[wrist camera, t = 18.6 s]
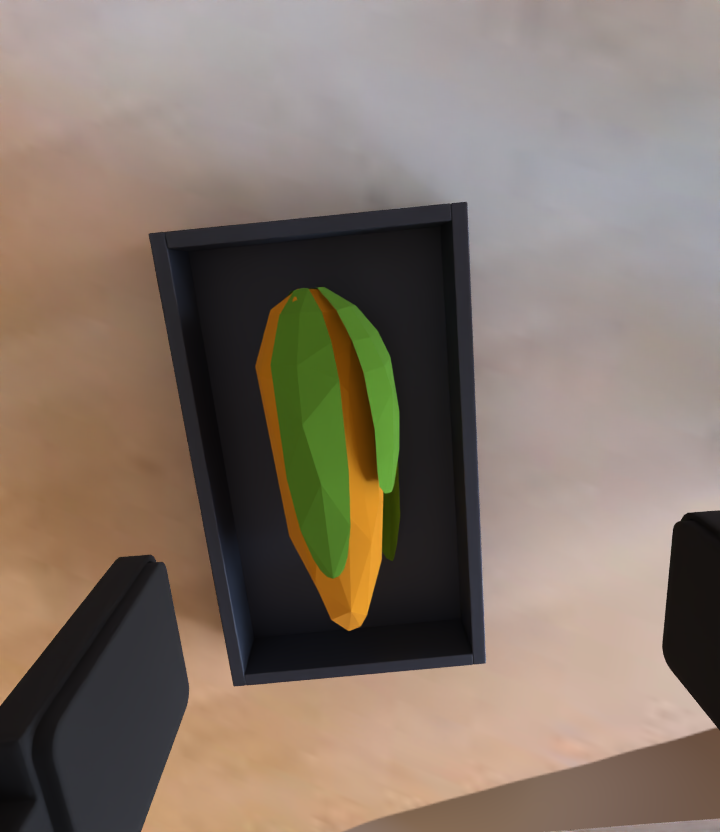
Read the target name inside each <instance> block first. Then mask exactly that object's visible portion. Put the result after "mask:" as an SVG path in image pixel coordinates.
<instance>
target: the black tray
mask: <svg viewBox="0 0 720 832" xmlns="http://www.w3.org/2000/svg"><path fill="white" fill-rule="evenodd" d="M149 239H150V244H151V249H152V255H153V260H154V265H155V271H156V276H157V281H158V286H159V292H160V297H161V302H162V308H163V313H164V318H165V324H166V329H167V334H168V340H169V345H170V350H171V356H172V361H173V366H174V372H175V377H176V382H177V388H178V393H179V398H180V404H181V409H182V414H183V420H184V425H185V430H186V435H187V441H188V446H189V451H190V457H191V462H192V467H193V473H194V478H195V483H196V489H197V494H198V499H199V505H200V510H201V515H202V521H203V526H204V531H205V537H206V542H207V547H208V553H209V558H210V563H211V569H212V574H213V579H214V585H215V590H216V595H217V600H218V606H219V611H220V616H221V622H222V627H223V632H224V638H225V643H226V648H227V654H228V659H229V664H230V670H231V675H232V680H233V685H234V686H244V685H256V684H267V683H278V682H289V681H300V680H311V679H322V678H332V677H343V676H354V675H365V674H376V673H387V672H398V671H409V670H419V669H430V668H441V667H452V666H463V665H473V664H484V663H486V653H485V628H484V603H483V579H482V554H481V529H480V504H479V479H478V455H477V430H476V405H475V380H474V355H473V331H472V306H471V281H470V256H469V232H468V207H467V202H459V203H452V204H440V205H430V206H420V207H410V208H400V209H390V210H380V211H369V212H359V213H349V214H339V215H329V216H319V217H309V218H299V219H289V220H279V221H269V222H259V223H249V224H239V225H229V226H219V227H209V228H199V229H189V230H179V231H169V232H159V233H150V234H149ZM316 287H325V288H327V289H328V290H330V291H332V292H334V293H335V294H337V295H339V296H340V297H342V298H344V299H345V300H347V301H349V302H350V303H352V304H354V305H356V306H357V308H358V309H359V310H360V311H361V312H362V313H363V314H364V316H365V317H366V318H367V319H368V320H369V321H370V323H371V324H372V325H373V326H374V327H375V328H376V329H377V331H378V333H379V335H380V337H381V339H382V341H383V343H384V345H385V347H386V349H387V351H388V353H389V355H390V358H391V364H392V370H393V376H394V382H395V388H396V394H397V400H398V406H399V455H398V473H399V497H400V522H399V531H398V540H397V547H396V552H395V556H394V559H393V561H391V560H389V559H387V558H386V557H385V555H384V554H383V552H382V560H381V564H380V568H379V571H378V575H377V579H376V583H375V587H374V590H373V594H372V598H371V602H370V605H369V609H368V613H367V616H366V618H365V620H364V621H363V623H362V625H361V626H360V627H358V628H355V629H353V630H351V631H348V630H346V629H345V628H343V627H342V626H340V625H339V624H337V623H335V622H334V621H332V620H331V618H330V616H329V613H328V611H327V609H326V607H325V604H324V602H323V600H322V598H321V596H320V593H319V591H318V589H317V587H316V586H315V584H314V582H313V580H312V578H311V576H310V574H309V572H308V571H307V569H306V567H305V565H304V563H303V561H302V559H301V557H300V555H299V554H298V552H297V550H296V548H295V546H294V544H293V542H292V540H291V538H290V537H289V532H288V527H287V522H286V517H285V512H284V507H283V502H282V497H281V492H280V487H279V482H278V477H277V472H276V467H275V462H274V457H273V452H272V447H271V442H270V437H269V432H268V427H267V422H266V417H265V412H264V407H263V402H262V397H261V392H260V387H259V383H258V378H257V373H256V368H255V366H256V362H257V358H258V354H259V351H260V347H261V343H262V339H263V336H264V332H265V328H266V324H267V321H268V317H269V313H270V310H271V309H272V308H274V307H275V306H276V305H278V304H279V303H280V302H281V301H283V300H284V299H285V298H286V297H287V295H288V294H289V293H290V292H291V291H294V290H297V289H300V288H309V289H310V288H316Z"/></svg>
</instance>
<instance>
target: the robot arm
mask: <svg viewBox="0 0 720 832" xmlns="http://www.w3.org/2000/svg"><path fill="white" fill-rule="evenodd" d="M662 649H663V655H664V658H665V660H666V663H667V665H668V666H669V668H670V669H671V671H672V672H673V673H674V674H675V675H676V677H677V678H678V679H679V680H680V682H681V683H682V684H683V685H684V687H685V688H686V689H687V690H688V692H689V693H690V694H691V695H692V697H693V698H694V699H695V700H696V702H697V703H698V704H699V705H700V707H701V708H702V709H703V710H704V711H705V713H706V714H707V715H708V716H709V718H710V719H711V720H712V721H713V723H714V724H715V725H716V726H717V728H718V729H719V730H720V511H706V512H693V513H687V514H685V515H684V516H683V518H682V519H681V521H679V522H677V523H676V524H675V525H674V528H673V535H672V546H671V557H670V568H669V579H668V589H667V600H666V611H665V622H664V633H663V644H662ZM188 697H189V683H188V677H187V672H186V667H185V662H184V657H183V651H182V646H181V641H180V636H179V631H178V625H177V620H176V615H175V610H174V605H173V600H172V594H171V589H170V584H169V579H168V574H167V569H166V566H165V564H164V563H163V562H156V560H155V558H154V556H152V555H141V556H129V557H119V558H118V559H116V560H115V562H114V563H113V564H112V565H111V567H110V568H109V569H108V571H107V572H106V573H105V574H104V576H103V577H102V578H101V579H100V581H99V582H98V583H97V584H96V586H95V587H94V588H93V590H92V591H91V592H90V593H89V595H88V596H87V597H86V598H85V600H84V601H83V602H82V603H81V605H80V606H79V607H78V608H77V610H76V611H75V612H74V614H73V615H72V616H71V617H70V619H69V620H68V621H67V622H66V624H65V625H64V626H63V627H62V629H61V630H60V631H59V633H58V634H57V635H56V636H55V638H54V639H53V640H52V641H51V643H50V644H49V645H48V646H47V648H46V649H45V650H44V651H43V653H42V654H41V655H40V657H39V658H38V659H37V660H36V662H35V663H34V664H33V665H32V667H31V668H30V669H29V670H28V672H27V673H26V674H25V676H24V677H23V678H22V679H21V681H20V682H19V683H18V684H17V686H16V687H15V688H14V689H13V691H12V692H11V693H10V695H9V696H8V697H7V698H6V700H5V701H4V702H3V703H2V705H1V706H0V832H141V830H142V827H143V824H144V822H145V819H146V816H147V814H148V811H149V808H150V805H151V803H152V800H153V797H154V794H155V792H156V789H157V786H158V783H159V781H160V778H161V775H162V772H163V770H164V767H165V764H166V762H167V759H168V756H169V753H170V751H171V748H172V745H173V742H174V740H175V737H176V734H177V731H178V729H179V726H180V723H181V720H182V718H183V715H184V712H185V709H186V707H187V703H188ZM553 832H720V819H709V820H696V821H682V822H668V823H654V824H642V825H629V826H616V827H604V828H592V829H579V830H566V831H553Z"/></svg>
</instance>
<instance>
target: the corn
mask: <svg viewBox="0 0 720 832" xmlns="http://www.w3.org/2000/svg"><path fill="white" fill-rule="evenodd" d="M255 368H256V373H257V378H258V383H259V387H260V392H261V397H262V402H263V407H264V412H265V417H266V422H267V427H268V432H269V437H270V442H271V447H272V452H273V457H274V462H275V467H276V472H277V477H278V482H279V487H280V492H281V497H282V502H283V507H284V512H285V517H286V522H287V527H288V532H289V537H290V538H291V540H292V542H293V544H294V546H295V548H296V550H297V552H298V554H299V555H300V557H301V559H302V561H303V563H304V565H305V567H306V569H307V571H308V572H309V574H310V576H311V578H312V580H313V582H314V584H315V586H316V587H317V589H318V591H319V593H320V596H321V598H322V600H323V602H324V604H325V607H326V609H327V611H328V613H329V616H330V618H331V620H332V621H334V622H335V623H337V624H339V625H340V626H342V627H343V628H345V629H346V630H348V631H351V630H353V629H355V628H358V627H360V626H361V625H362V623H363V621H364V620H365V618H366V616H367V613H368V609H369V605H370V602H371V598H372V594H373V590H374V587H375V583H376V579H377V575H378V571H379V568H380V564H381V560H382V552H383V554H384V555H385V557H386V558H387V559H389V560H391V561H393V559H394V556H395V552H396V547H397V540H398V531H399V522H400V497H399V473H398V455H399V406H398V400H397V394H396V388H395V382H394V376H393V370H392V364H391V358H390V355H389V353H388V351H387V349H386V347H385V345H384V343H383V341H382V339H381V337H380V335H379V333H378V331H377V329H376V328H375V327H374V326H373V325H372V324H371V323H370V321H369V320H368V319H367V318H366V317H365V316H364V314H363V313H362V312H361V311H360V310H359V309H358V308H357V306H356V305H354V304H352V303H350V302H349V301H347V300H345V299H344V298H342V297H340V296H339V295H337V294H335V293H334V292H332V291H330V290H328V289H327V288H325V287H316V288H310V289H309V288H300V289H297V290H294V291H291V292H290V293H289V294H288V295H287V297H286V298H285V299H284V300H283V301H281V302H280V303H279V304H278V305H276V306H275V307H274V308H272V309H271V310H270V313H269V317H268V321H267V324H266V328H265V332H264V336H263V339H262V343H261V347H260V351H259V354H258V358H257V362H256V366H255Z"/></svg>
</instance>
